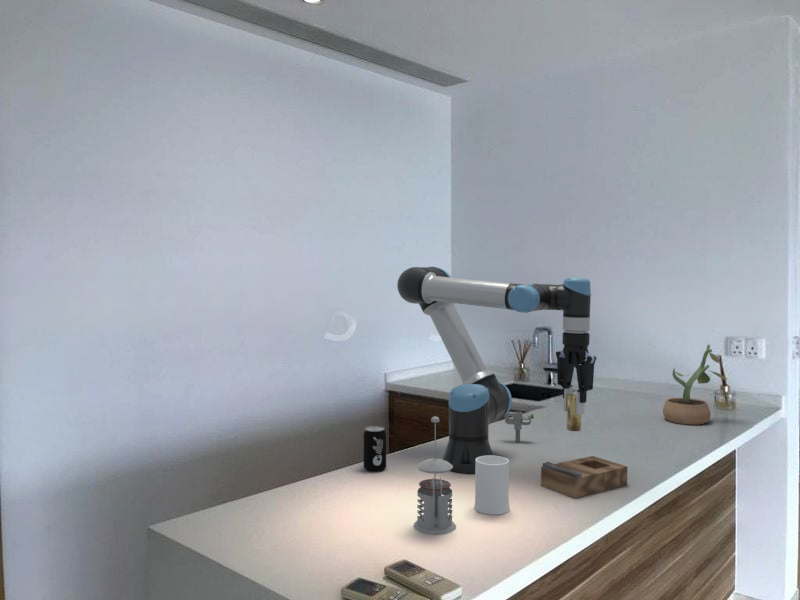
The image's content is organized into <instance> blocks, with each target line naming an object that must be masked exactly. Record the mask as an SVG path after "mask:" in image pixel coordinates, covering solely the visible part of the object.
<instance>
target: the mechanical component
mask: <svg viewBox="0 0 800 600" xmlns="http://www.w3.org/2000/svg"><path fill="white" fill-rule="evenodd" d="M510 417H512V418H510ZM532 420H534V413H531V412H529V413H528V415H527V417H526V416H524V415H523V412H522V411H509V412H508V413H507V414H506V415H505V416H504V421H505V422H504V423H506V424H507V425H514V427H513V429H514V430H515V438H514V439H515V443H517V444H519V443H520V441H521V430H522V429H523V428H522V426H529V425H531V424H532ZM524 421H525V422H524ZM526 421H527V422H526Z"/></svg>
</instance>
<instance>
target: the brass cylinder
mask: <svg viewBox="0 0 800 600" xmlns="http://www.w3.org/2000/svg"><path fill="white" fill-rule="evenodd" d="M566 430H567V431H570V432H580V431H582V414H576V393H573V394H568V395H567V411H566Z"/></svg>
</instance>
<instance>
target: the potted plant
mask: <svg viewBox="0 0 800 600" xmlns="http://www.w3.org/2000/svg"><path fill="white" fill-rule="evenodd" d="M710 347H711V345H710V344H707V346H706V348H705V349H706V350H705V351H704V352H703V355H702V360H701V362H700V366H699V367H698V368H697V369H696V370H695V371H694V372H693V374H692V375H691V376H690V377H689V378H688V380H687V381H685V380H683V379H682V378H680V377H684V374H681V373H679V372H677V371H675V370H676V369H675V367H673V369H672V373H671V374H672V377H673V379H674V380H675V381H676V382H677V383H678V384H679V385H681V386H683V388H684V389H683V392H682V393H683V394H682V397H672V398H667V399H665V403H664V404H663V408H662V413H663V417H664V419H665V420H667V421H668V422H670V423H673V422H674V424H677V423H679V424H678V425H684V424H686V425H687V426H700V424H702V425H705V424H707V423H708V422H709V421H710V419H711V415H712V413H711V410H710V407H709V405H708V403H707V401H705V400H701V399H696V398H691V390H692V387H693V385H694V382H695V381H696V380H697V382H698V384H699V385H700V384H708V383H709V382H710V381H711V378H710V376H709V375H708V374H707V373H706V371H707V370H708V371H710V372H711V373H712V374H714V375H716V376H717V377H719V378H721V380H728V378H727V377H725V376H724V375H723V374H721V373H718V372H716V371H712V370H710V369H709V368H710V366H711V365H709V364H707V365H706V361H707V358H708V355H709V357H710V359H712V360H713V362H715V363H718V364H720V361H719V357H718V356H717V355H716V354H714V353H712V352H713V350H712V348H710ZM689 375H690V374H687V375H686V377H688V376H689ZM704 423H705V424H704ZM686 425H685V426H686Z"/></svg>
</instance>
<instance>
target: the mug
mask: <svg viewBox="0 0 800 600" xmlns="http://www.w3.org/2000/svg"><path fill="white" fill-rule="evenodd" d="M474 475H475V477H474V478H475V479H474V483H475V484H474V485H475V486H474V492H475V493H474V506H473V508H474V510H475V511H476V512H478V513H479V514H484V515H489V516H490V515H491V516H501V515H504V514H508V512H510V509H511V508H510V502H509V501H510V500H509V498H510V497H509V496H510V488H509V487H510V484H509V483H510V460H509V459H508V458H507V457H504V456H499V455H494V454H493V455H487V456H480V457H477V458H476V460H475V473H474Z"/></svg>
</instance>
